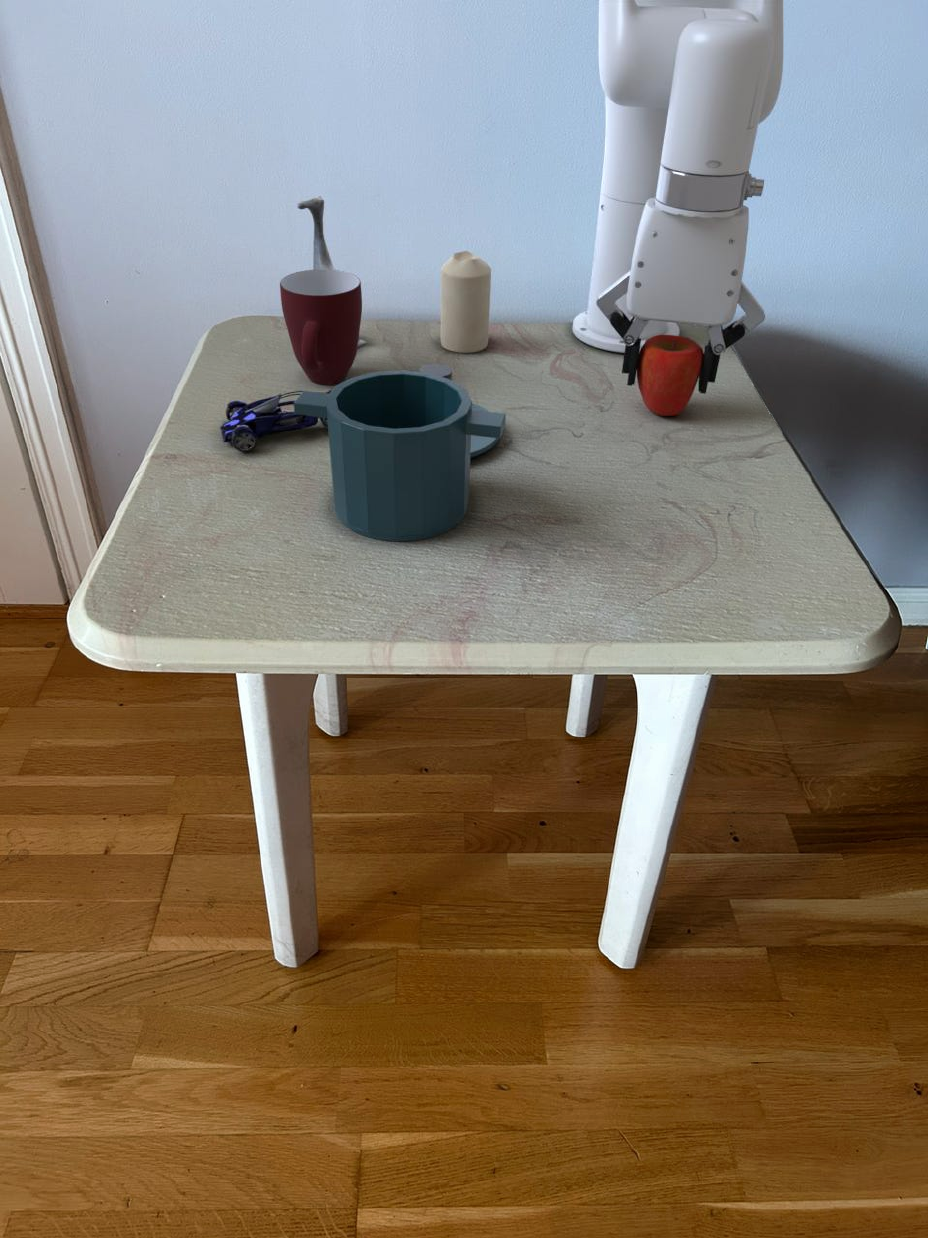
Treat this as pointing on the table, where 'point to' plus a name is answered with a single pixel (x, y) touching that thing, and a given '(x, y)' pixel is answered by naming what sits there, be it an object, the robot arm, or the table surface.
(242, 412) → the toy car
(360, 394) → the pot
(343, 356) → the mug
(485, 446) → the lid
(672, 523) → the table surface
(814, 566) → the table surface
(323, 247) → the figurine
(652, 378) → the apple
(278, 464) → the table surface
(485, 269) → the candle
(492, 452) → the table surface
